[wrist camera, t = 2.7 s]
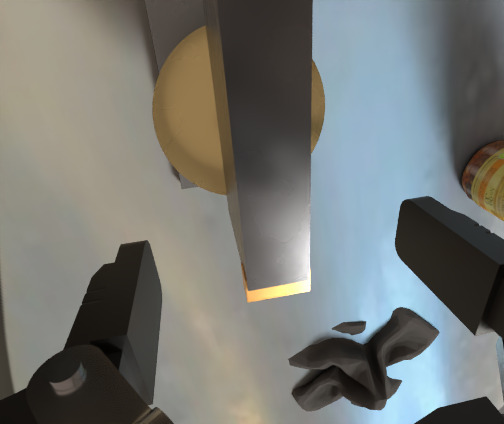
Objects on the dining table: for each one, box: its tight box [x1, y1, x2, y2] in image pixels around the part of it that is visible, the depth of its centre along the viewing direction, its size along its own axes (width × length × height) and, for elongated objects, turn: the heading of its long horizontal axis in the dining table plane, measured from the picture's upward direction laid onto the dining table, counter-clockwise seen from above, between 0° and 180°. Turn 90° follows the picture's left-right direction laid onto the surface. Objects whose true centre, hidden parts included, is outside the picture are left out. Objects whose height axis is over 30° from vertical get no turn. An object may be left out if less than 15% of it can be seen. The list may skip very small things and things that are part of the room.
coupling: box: [153, 0, 325, 302], centre depth 13 cm, size 10×8×9 cm
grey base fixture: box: [145, 0, 205, 189], centre depth 20 cm, size 14×8×7 cm, turn 4°
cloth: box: [288, 307, 439, 411], centre depth 39 cm, size 22×19×6 cm
